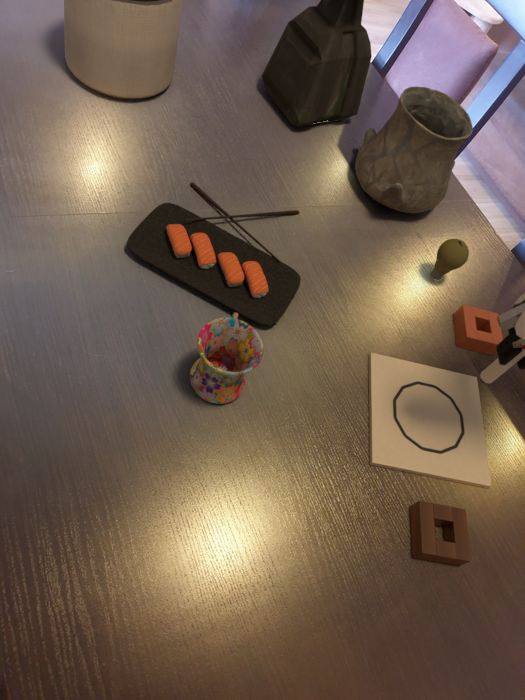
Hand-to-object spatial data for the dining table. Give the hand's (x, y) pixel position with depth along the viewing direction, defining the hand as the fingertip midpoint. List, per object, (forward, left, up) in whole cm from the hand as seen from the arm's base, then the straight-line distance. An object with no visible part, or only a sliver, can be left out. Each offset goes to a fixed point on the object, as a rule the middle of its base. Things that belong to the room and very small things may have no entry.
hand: (510, 357), depth 76 cm
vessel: (+6, -55, -21) cm, 59 cm away
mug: (+36, 0, -21) cm, 42 cm away
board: (+1, 0, -21) cm, 21 cm away
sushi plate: (+37, -28, -21) cm, 51 cm away
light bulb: (-3, -32, -21) cm, 38 cm away
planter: (+67, -68, -21) cm, 98 cm away
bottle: (+26, -75, -21) cm, 82 cm away
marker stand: (+1, +19, -21) cm, 28 cm away
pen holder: (-10, -20, -21) cm, 30 cm away
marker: (0, 0, -7) cm, 7 cm away
